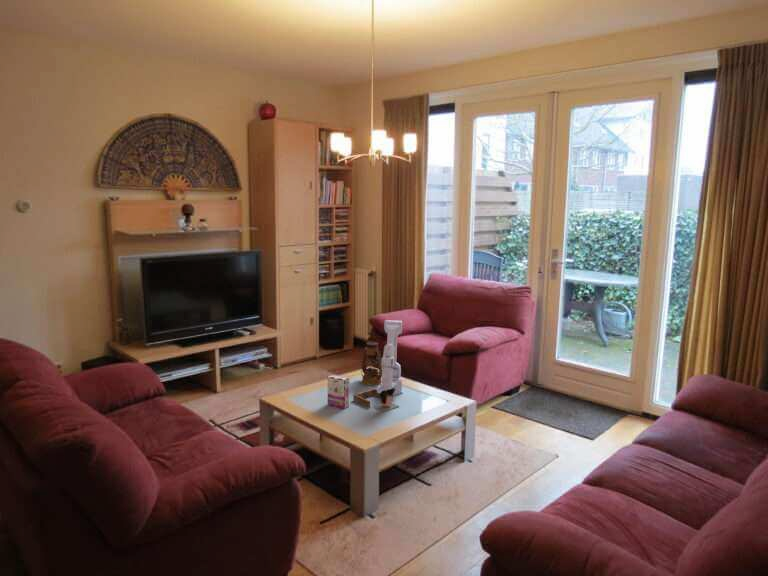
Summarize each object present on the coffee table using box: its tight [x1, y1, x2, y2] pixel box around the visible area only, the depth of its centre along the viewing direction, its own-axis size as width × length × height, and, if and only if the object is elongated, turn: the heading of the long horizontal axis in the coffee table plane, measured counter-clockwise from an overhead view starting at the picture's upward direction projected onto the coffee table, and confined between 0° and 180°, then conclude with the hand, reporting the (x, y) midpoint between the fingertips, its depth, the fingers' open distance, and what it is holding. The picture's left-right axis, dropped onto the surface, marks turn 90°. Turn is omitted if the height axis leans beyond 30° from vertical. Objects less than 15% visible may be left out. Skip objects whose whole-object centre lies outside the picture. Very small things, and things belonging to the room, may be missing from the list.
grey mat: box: [372, 402, 400, 413], centre depth 295 cm, size 12×8×1 cm, turn 132°
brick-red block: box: [380, 395, 392, 407], centre depth 295 cm, size 4×4×5 cm
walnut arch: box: [352, 388, 381, 409], centre depth 304 cm, size 16×13×4 cm
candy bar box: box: [327, 374, 350, 410], centre depth 294 cm, size 11×5×16 cm, turn 62°
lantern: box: [360, 334, 382, 387], centre depth 332 cm, size 17×13×30 cm
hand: (386, 402), depth 295 cm, fingers closed on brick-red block, 4 cm apart
